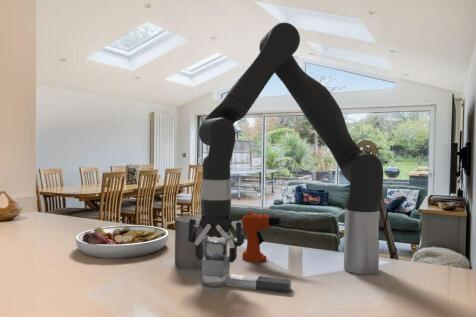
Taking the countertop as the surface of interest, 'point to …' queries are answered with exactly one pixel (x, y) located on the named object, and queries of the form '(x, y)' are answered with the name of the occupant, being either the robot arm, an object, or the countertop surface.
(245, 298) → the countertop surface
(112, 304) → the countertop surface
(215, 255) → the cylinder on square block
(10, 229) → the countertop surface
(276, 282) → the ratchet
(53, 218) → the countertop surface
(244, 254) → the toy drill
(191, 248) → the pillar candle
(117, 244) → the bowl
